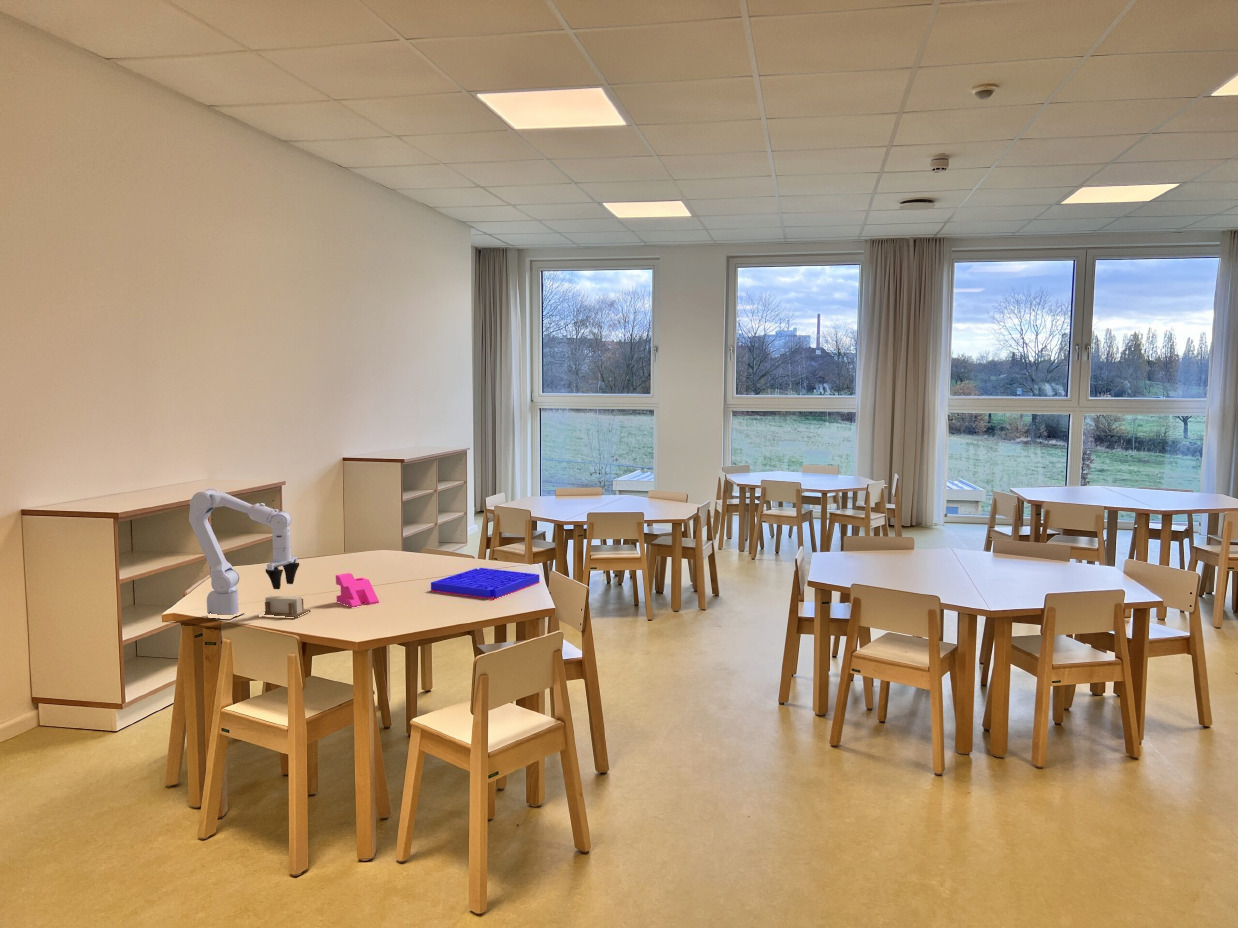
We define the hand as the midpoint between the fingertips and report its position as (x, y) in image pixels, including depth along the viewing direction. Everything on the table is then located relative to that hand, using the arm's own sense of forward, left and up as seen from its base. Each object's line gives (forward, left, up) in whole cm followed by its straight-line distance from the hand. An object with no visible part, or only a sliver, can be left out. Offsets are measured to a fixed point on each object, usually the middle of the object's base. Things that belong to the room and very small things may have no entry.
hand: (283, 586), depth 285 cm
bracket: (+17, +20, -10) cm, 28 cm away
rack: (0, 0, -10) cm, 10 cm away
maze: (+54, +51, -11) cm, 75 cm away
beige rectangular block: (0, 0, -9) cm, 9 cm away
